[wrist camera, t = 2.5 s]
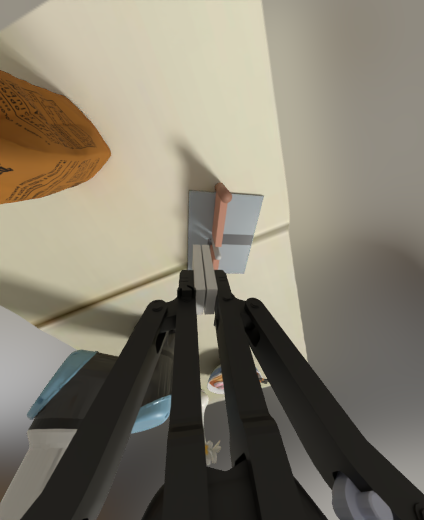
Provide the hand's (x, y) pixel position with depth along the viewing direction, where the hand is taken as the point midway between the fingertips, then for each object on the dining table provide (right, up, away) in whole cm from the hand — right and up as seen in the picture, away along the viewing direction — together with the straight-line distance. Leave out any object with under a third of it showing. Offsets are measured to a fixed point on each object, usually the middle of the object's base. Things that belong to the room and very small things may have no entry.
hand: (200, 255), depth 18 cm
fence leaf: (+2, +10, +17) cm, 19 cm away
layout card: (+3, +5, +21) cm, 22 cm away
